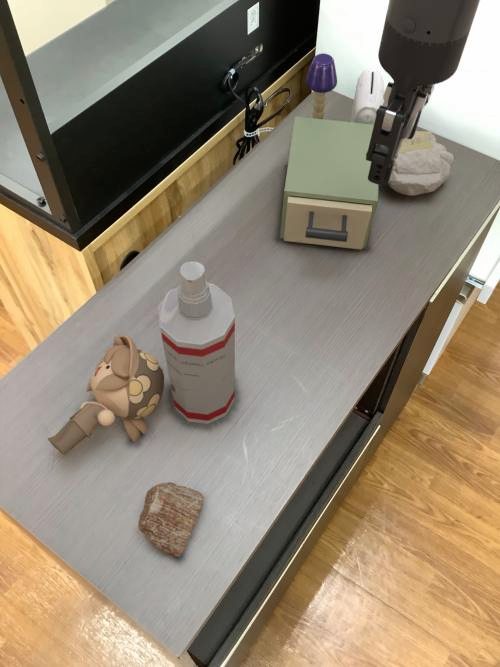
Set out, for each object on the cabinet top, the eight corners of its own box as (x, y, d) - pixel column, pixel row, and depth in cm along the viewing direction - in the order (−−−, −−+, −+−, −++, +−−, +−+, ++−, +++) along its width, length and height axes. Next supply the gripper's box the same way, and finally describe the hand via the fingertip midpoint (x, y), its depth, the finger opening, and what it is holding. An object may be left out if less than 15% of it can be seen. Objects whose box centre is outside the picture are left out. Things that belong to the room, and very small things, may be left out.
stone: (160, 555, 69) (186, 561, 66) (120, 534, 66) (146, 539, 63) (185, 494, 73) (212, 497, 69) (148, 472, 70) (175, 474, 66)
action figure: (18, 407, 72) (117, 328, 78) (77, 475, 76) (168, 394, 81) (33, 419, 64) (144, 328, 69) (99, 495, 67) (200, 402, 72)
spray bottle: (166, 418, 76) (140, 297, 55) (178, 366, 80) (158, 233, 59) (230, 427, 75) (228, 307, 54) (238, 373, 80) (240, 243, 59)
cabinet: (365, 248, 91) (378, 200, 83) (279, 238, 92) (284, 190, 84) (368, 174, 100) (380, 125, 92) (290, 166, 100) (294, 116, 92)
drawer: (360, 273, 88) (371, 235, 81) (280, 263, 88) (284, 225, 82) (365, 179, 98) (374, 139, 91) (292, 172, 98) (297, 131, 92)
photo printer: (370, 170, 100) (385, 104, 90) (343, 166, 101) (356, 101, 90) (372, 128, 106) (388, 62, 96) (347, 125, 106) (360, 59, 96)
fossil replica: (459, 187, 99) (413, 156, 104) (476, 141, 93) (425, 111, 97) (407, 216, 94) (361, 182, 99) (420, 169, 88) (370, 136, 92)
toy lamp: (318, 164, 101) (331, 72, 87) (292, 153, 102) (302, 61, 88) (331, 147, 103) (346, 54, 89) (307, 137, 104) (318, 44, 90)
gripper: (447, 70, 51) (402, 211, 64) (492, -12, 58) (443, 131, 71) (361, 44, 53) (335, 187, 66) (415, -33, 60) (381, 111, 73)
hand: (391, 157), depth 69 cm, fingers open, 8 cm apart
